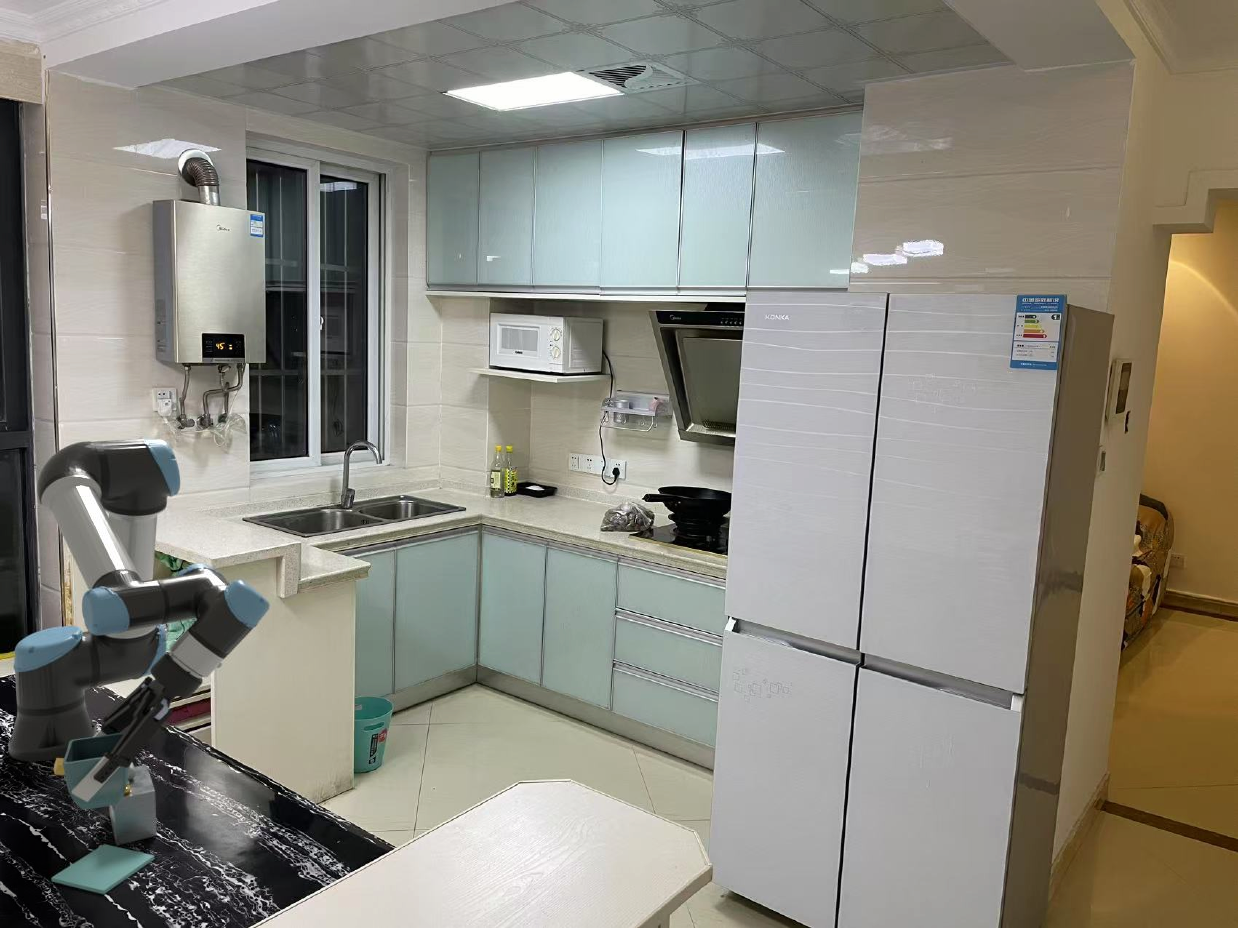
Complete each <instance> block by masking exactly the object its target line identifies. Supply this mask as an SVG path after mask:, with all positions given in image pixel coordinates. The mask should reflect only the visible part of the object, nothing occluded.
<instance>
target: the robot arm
mask: <svg viewBox="0 0 1238 928" xmlns="http://www.w3.org/2000/svg"><path fill="white" fill-rule="evenodd" d="M36 487H37V488H36V491H37V497H38V500H39V503H40V505H41V507H42V509H43V511H44V512H45V514H46V515H47V516H49V517H50V518H53V519H55V521H56V524H57V526H58V528H59V530H60V532H61V534H62V536H63V538H64V541H65V542H66V545H67V547H68V549H69V551H70V553H71V555H72V557H73V560H74V561H75V564H76V566H77V568H78V570H79V572H80V574H81V576H82V578H83V580H84V583H85V584H86V587H87V589H88V590H87V591H85V593H84V594H83V596H82V599H81V600H82V601H81V613H82V618H83V619H84V620H83V621H84V626H85V628H86V629H87V631H82V629H81V628H80V627H78V626H75V625H65V626H53V627H49V628H46V629H41V630H38V631H36V632H33V633H31V634H29V635H27V636H25V637H24V638H23V639H22V640H20V641H19V642H18V643H17V644H16V646H15V649H14V656H13V657H14V658H13V659H14V660H13V670H14V675H15V676H14V677H15V691H16V695H15V696H16V706H17V707H16V709H17V710H16V711H17V715H16V719H15V721H14V725H13V731H12V734H11V736H10V737H9V739H8V752H9V753H8V754H9V756H10V757H11V758H13V759H15V760H17V761H18V760H19V761H21V762H22V761H24V762H43V761H44V762H46V761H53V760H56V758H65V755H66V752H67V749H68V745H69V742H70V741H71V740H75V739H81V738H89V737H96V736H103V735H110V734H117V733H122V731H124V730H125V731H124V732H125V733H124V732H123V733H124V734H123V736H122V737H121V738H120V740H119V741H118V743H117V744H116V746H115V747H114V749H113V750H112V751H111V753H109V752H108V753H104V755H103V756H104V757H103V758H102V759H101V760H100V761H99V762H98V763H97V764H96V766H95V767H94V768H93V769H92V770H91V771H90V772H89V773H88V774H87V775H86V776H85V777H84V778H83V779H82V781H81V782H80V783H79V784H78V785H77V786H76V787H75V788H74V789H73V790H72V794H74V795H76V796H78V797H79V798H81V799H83V800H85V801H86V802H88V801H89V800H90V799H91V798H92V797H93V796H94V794H95V793H96V792H97V791H98V790H99V789H100V788H101V787H102V786H103V785H104V784H105V783H106V781H107V780H108V779H109V778H110V777H111V776H112V775H113V774H114V773H115V772H116V771H117V770H118V769H119V767H120V766H121V767H122V766H123V767H125V768H128V767H129V766H130V764H131V763H133V762H134V761H135V760H136V758H137V757H138V755H139V754H140V753H141V752H142V751H143V749H144V748H145V746H146V745H147V744H148V743H149V742H150V740H151V739H152V738H153V736H154V735H155V734H156V733H157V732H158V730H159V729H160V728H161V726H162V725H163V724H164V723H165V722H166V721H167V720H168V719H169V718H170V717H171V716H172V714H173V712H174V711H173V710H172V709H170V706H171V704H172V702H173V701H174V699H175V698H176V697H179V698H182V699H189V698H190V697H191V696H192V695H193V694H194V693H195V692H196V691H197V690H198V688H199V687H201V685H202V684H203V681H204V679H203V678H208V677H209V676H210V675H211V674H212V673H214V671H215V670H216V668H217V669H219V668H221V667H222V665H223V661H224V660H225V659H226V658H227V657H228V656H229V655H230V654H231V653H232V652H233V650H234V649H235V648H236V647H237V646H238V645H239V644H240V643H241V642H243V640H244V639H245V638H246V637H247V636H248V635H249V634H250V632H252V630H253V629H255V628H257V626H258V625H259V623H260V621H261V620H262V618H263V617H264V616H265V615H266V613H267V612H268V611H269V610H270V607H271V606H270V605H271V604H270V602H269V600H268V599H267V598H266V597H265V596H263V595H262V594H261V593H260V592H258V591H257V590H256V589H255V588H254V587H253V586H252V585H250V584H249V583H247V582H246V581H245V580H244V579H241V578H236V579H235V580H234V581H232V582H231V583H229V581H227V579H226V578H225V576H224V575H223V574H222V573H221V572H220V571H218V570H216V569H214V568H213V567H212V566H210V565H208V564H204V563H194V564H190V565H188V566H186V567H184V569H181V570H180V571H179V572H178V573H177V575H176V576H170V577H165V578H164V577H163V578H157V579H153V578H154V565H155V563H154V562H155V550H156V542H157V541H156V540H157V539H156V538H157V537H156V536H157V525H158V516H159V514H161V513H162V512H164V511H165V510H166V508H167V504H168V497H170V498H172V497H174V496H176V495H178V494H179V491H180V489H181V476H180V469H179V463H178V461H177V459H176V455H175V453H174V450H173V448H171V446H170V445H169V443H167V442H166V441H165V440H163V439H160V438H143V437H140V438H136V439H133V438H132V439H116V440H99V441H79V442H76V443H71V444H69V445H67V446H64V447H63V448H61V449H60V450H58V451H56V452H55V453H54V454H53V455H52V456H51V457H50V458H49V459H48V460H47V461H46V463H45V464H44V466H43V468H42V470H41V471H40V473H39V477H38V479H37V486H36ZM107 513H108V514H107ZM194 619H195V620H196V621H194V622H193V623H192V625H190V626H189V627H188V628H187V629H186V630H185V631H184V632H183V633H182V635H180V636H179V637H178V638H177V640H176V641H175V642H174V643H172V645H171V646H170V647H169V652H167V648H168V647H167V646H168V644H167V641H166V639H167V634H166V630H165V627H164V625H167V624H168V625H169V624H173V623H178V622H184V621H188V620H190V621H191V620H194ZM151 676H152V677H153V678H152V677H151ZM143 677H144V680H142V682H140V684H139V685H138V686H137V687H136V688H135V689H134V690H133V691H132V692H131V693H129V694H128V695H127V696H126V697H125V698H124V699H123V700H121V702H120V703H118V705H116V706H115V707H114V708H113V709H112V710H111V711H110V712H108V714H107V715H105V716H104V717H103V719H102V724H101V726H100V729H99V730H98V731H97V726H96V724H95V722H94V721H93V718H92V715H91V713H90V710H89V708H88V707H87V705H86V696H85V694H86V692H85V691H86V690H90V689H94V688H95V689H96V688H98V687H104V686H107V685H108V686H109V685H112V684H116V683H122V682H125V681H126V682H127V681H129V680H139V679H142V678H143ZM123 755H124V756H123Z"/></svg>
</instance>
